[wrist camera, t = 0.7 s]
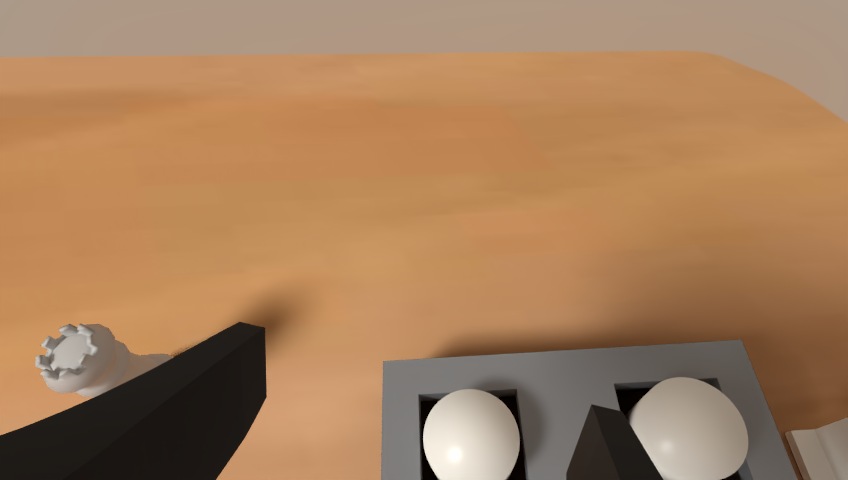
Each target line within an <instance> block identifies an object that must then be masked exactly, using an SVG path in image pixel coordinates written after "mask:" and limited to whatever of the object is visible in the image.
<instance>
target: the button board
mask: <svg viewBox="0 0 848 480" xmlns="http://www.w3.org/2000/svg"><path fill="white" fill-rule="evenodd" d="M676 377H687V378H693V379H697V380H700V381H703V382H705V383H707V384H710V385H711V386H713V387H715V388H716V389H718V390H719V391H721V392H722V393H723V394H724V395H725V396H726V397H727V398H729V399H730V401H731V402H732V403H733V404H734V405H735V407H736V408H737V409H738V411H739V413H740V414H741V416H742V418H743V421H744V423H745V426H746V429H747V434H748V451H747V455H746V458H745V460H744V462H743V464H742V465H741V466H740V468H739V469H738V470H737V471H736V472H735V473H733V474H732V475H730V476H728V477H726V478H725V479H726V480H798V479H797V477H796V474H795V472H794V469H793V467H792V464H791V462H790V459H789V457H788V454H787V452H786V449H785V447H784V444H783V442H782V439H781V437H780V434H779V432H778V429H777V427H776V424H775V422H774V419H773V417H772V414H771V412H770V409H769V407H768V404H767V402H766V399H765V397H764V394H763V392H762V389H761V387H760V384H759V382H758V379H757V377H756V374H755V372H754V369H753V367H752V364H751V362H750V359H749V357H748V354H747V352H746V349H745V347H744V344H743V342H742V340H728V341H711V342H695V343H678V344H661V345H645V346H628V347H612V348H595V349H578V350H562V351H545V352H529V353H512V354H496V355H479V356H462V357H446V358H429V359H413V360H396V361H383V398H382V461H381V480H422V442H421V402H423V401H440V400H441V399H442V398H443V397H445V396H447V395H448V394H450V393H453V392H455V391H459V390H464V389H476V390H481V391H485V392H487V393H490V394H492V395H493V396H495V397H514V396H516V402H517V410H518V418H519V425H520V433H521V441H522V449H523V456H524V464H525V472H526V480H566V472H567V469H568V467H569V464H570V461H571V458H572V456H573V453H574V450H575V448H576V445H577V442H578V439H579V437H580V434H581V431H582V429H583V426H584V423H585V420H586V418H587V415H588V412H589V409H590V407H591V404H593V405H597V406H601V407H606V408H610V409H614V410H618V411H620V408H619V404H618V400H617V396H616V392H615V391H623V390H642V389H652V388H653V387H654V386H655V385H657V384H658V383H660V382H662V381H664V380H666V379H670V378H676Z"/></svg>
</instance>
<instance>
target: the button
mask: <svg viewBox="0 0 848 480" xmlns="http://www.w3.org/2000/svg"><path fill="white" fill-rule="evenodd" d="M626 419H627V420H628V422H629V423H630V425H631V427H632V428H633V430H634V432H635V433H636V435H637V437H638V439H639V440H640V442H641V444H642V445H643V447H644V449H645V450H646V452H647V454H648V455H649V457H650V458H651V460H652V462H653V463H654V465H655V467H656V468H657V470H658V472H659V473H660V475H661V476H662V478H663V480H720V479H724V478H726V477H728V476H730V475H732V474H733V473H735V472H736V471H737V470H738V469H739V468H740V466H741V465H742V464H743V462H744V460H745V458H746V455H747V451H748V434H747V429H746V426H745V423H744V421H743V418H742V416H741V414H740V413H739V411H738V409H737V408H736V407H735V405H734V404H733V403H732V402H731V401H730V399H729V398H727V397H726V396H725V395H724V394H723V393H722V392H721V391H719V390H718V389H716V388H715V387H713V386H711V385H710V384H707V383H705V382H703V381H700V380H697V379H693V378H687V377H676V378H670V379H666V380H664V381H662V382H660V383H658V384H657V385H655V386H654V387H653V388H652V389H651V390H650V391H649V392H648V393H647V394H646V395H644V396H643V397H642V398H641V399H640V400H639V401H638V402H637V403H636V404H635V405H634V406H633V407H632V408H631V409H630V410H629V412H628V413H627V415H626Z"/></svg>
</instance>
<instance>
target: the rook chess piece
mask: <svg viewBox="0 0 848 480" xmlns="http://www.w3.org/2000/svg"><path fill="white" fill-rule="evenodd" d="M59 330H60V333H61V334H63V335H62V336H60V337H59V338H57V339H54V338H52V337H50V336H48V337H47V338H46V340H45V341H44V342H43V343H42V345H41V346H42V347H44V348H46V349H48V351H47V353H46V356H44V355H40V356H36V367H38V368H40V369H43V371H42V372H41V373H40V374H41V375H43V379H44V380H45V382H46V384H47V386H48V388H50V389H52V390H54V391H56V392H58V393H73V392H76V393H77V394H79V395H81V396H83V397H96V396H98V395H100V394H102V393H104V392H107V391H109V390H111V389H113V388H115V387H117V386H119V385H121V384H123V383H125V382H127V381H129V380H131V379H133V378H135V377H137V376H139V375H141V374H143V373H145V372H147V371H149V370H151V369H153V368H155V367H157V366H159V365H161V364H162V363H164V362H166V361H168V360H170V359H172V358H174V357H172V356H170V355H168V354H149V355H141V356H139V355H136V354H133V353H130V352H129V350H128V349H127V347H126V346H125V344H124V343H121V342H119V341H117V340H115V337H114V335H113V334H112V332H111V331H110V330H109V328H107V327H104V326H102V325H100V324H89V325H83V324H80V325H79V326H78V328H76V327H75V326H73V325H71V324H69V325H66V326H63V327H61V328H59Z"/></svg>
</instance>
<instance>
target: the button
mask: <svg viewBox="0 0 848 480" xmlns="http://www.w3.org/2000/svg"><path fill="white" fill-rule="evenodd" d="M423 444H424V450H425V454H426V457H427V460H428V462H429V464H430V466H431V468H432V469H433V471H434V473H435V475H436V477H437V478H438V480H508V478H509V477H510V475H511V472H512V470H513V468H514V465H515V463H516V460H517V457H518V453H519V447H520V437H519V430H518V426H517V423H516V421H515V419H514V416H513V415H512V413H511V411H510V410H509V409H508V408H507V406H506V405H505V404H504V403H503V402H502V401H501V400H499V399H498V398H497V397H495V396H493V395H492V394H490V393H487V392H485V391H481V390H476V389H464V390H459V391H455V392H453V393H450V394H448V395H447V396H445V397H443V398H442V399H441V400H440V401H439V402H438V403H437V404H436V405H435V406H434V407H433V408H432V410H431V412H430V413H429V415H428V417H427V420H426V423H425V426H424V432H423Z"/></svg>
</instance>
